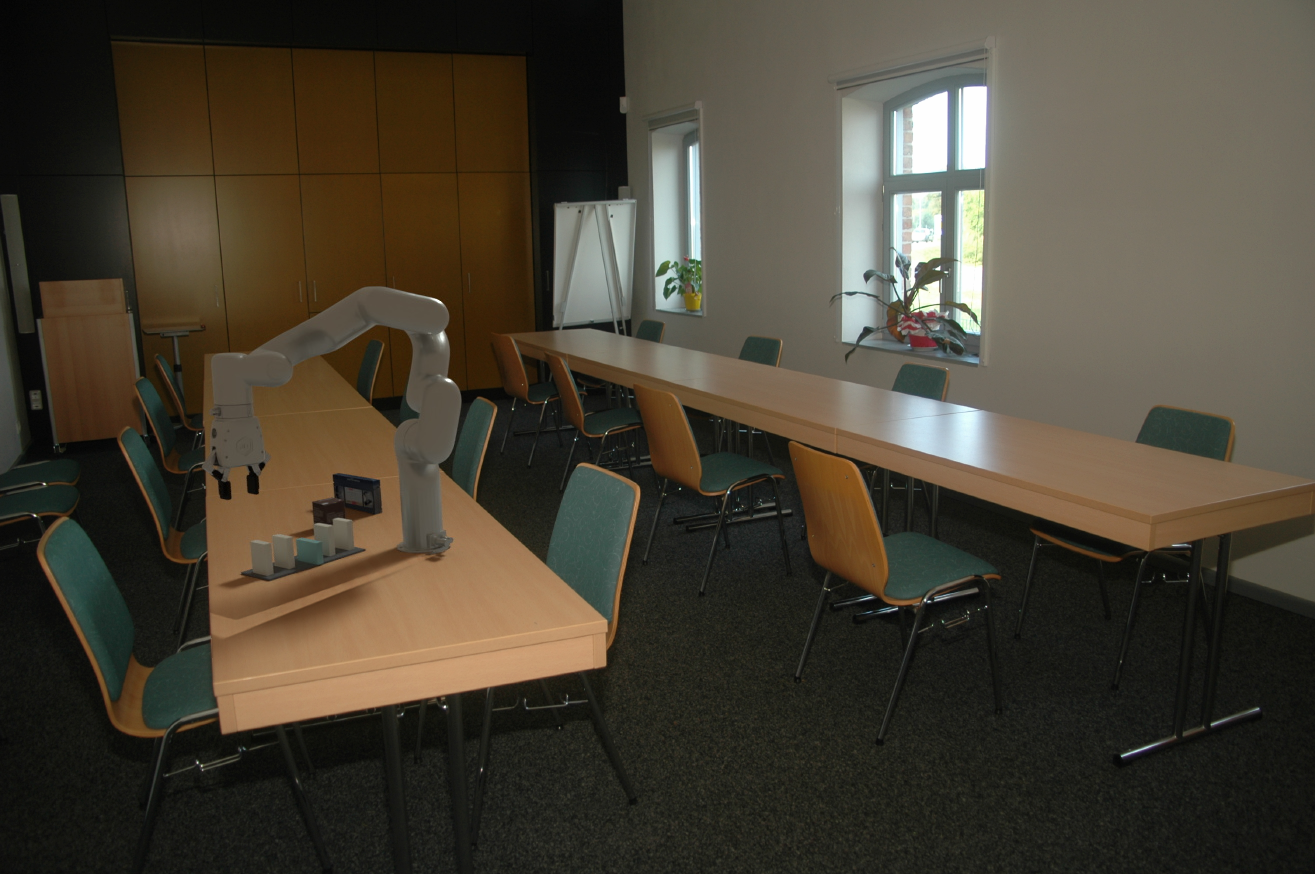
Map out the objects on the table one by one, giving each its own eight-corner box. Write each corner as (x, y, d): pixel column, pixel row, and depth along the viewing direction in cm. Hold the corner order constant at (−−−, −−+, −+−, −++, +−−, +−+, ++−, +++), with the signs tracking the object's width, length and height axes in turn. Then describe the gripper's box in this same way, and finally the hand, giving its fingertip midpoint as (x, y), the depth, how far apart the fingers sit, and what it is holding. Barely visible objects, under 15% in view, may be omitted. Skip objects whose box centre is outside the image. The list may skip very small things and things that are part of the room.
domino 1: (259, 570, 205) (256, 539, 204) (273, 573, 202) (270, 542, 201) (252, 572, 204) (250, 541, 203) (267, 575, 201) (264, 544, 200)
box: (334, 523, 246) (332, 496, 245) (347, 527, 242) (345, 500, 241) (313, 528, 242) (311, 501, 240) (326, 532, 238) (324, 504, 237)
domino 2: (280, 563, 210) (278, 533, 208) (295, 567, 207) (292, 536, 206) (274, 565, 208) (272, 535, 207) (289, 569, 206) (286, 538, 205)
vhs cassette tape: (334, 508, 264) (331, 473, 262) (343, 506, 266) (341, 472, 265) (374, 517, 253) (371, 481, 251) (383, 514, 255) (380, 479, 254)
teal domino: (301, 537, 213) (322, 541, 209) (303, 558, 213) (323, 562, 210) (295, 539, 211) (316, 543, 208) (297, 560, 212) (317, 564, 208)
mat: (365, 550, 221) (365, 548, 221) (269, 580, 199) (269, 579, 199) (337, 544, 226) (337, 543, 226) (241, 573, 204) (240, 572, 204)
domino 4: (340, 545, 223) (338, 517, 222) (354, 548, 221) (352, 520, 220) (334, 547, 222) (332, 519, 221) (348, 550, 219) (346, 521, 218)
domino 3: (321, 551, 219) (319, 522, 218) (335, 554, 216) (333, 525, 215) (315, 553, 218) (313, 524, 216) (329, 556, 215) (327, 527, 214)
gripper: (206, 417, 185) (212, 506, 188) (281, 409, 200) (286, 491, 202) (184, 415, 189) (190, 501, 192) (260, 407, 204) (264, 487, 206)
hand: (239, 495), depth 197 cm, fingers open, 5 cm apart
